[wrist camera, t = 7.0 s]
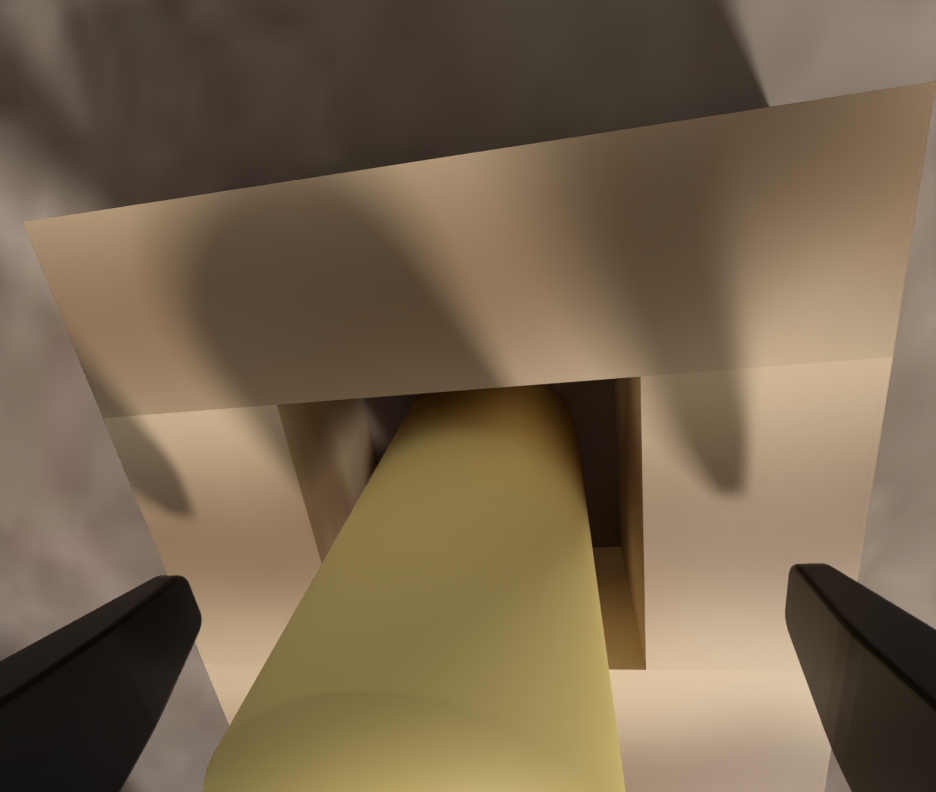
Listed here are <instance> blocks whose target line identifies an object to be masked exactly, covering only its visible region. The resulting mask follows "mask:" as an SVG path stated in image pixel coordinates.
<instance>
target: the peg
mask: <svg viewBox="0 0 936 792" xmlns="http://www.w3.org/2000/svg"><path fill="white" fill-rule="evenodd" d="M204 792H626V791H625V784H624V777H623V769H622V762H621V755H620V747H619V740H618V733H617V725H616V718H615V711H614V703H613V696H612V689H611V681H610V674H609V666H608V659H607V652H606V644H605V637H604V630H603V622H602V615H601V608H600V600H599V593H598V586H597V578H596V571H595V564H594V556H593V549H592V542H591V534H590V527H589V520H588V512H587V505H586V498H585V490H584V483H583V476H582V468H581V461H580V454H579V446H578V439H577V432H576V428H575V425H574V422H573V419H572V417H571V415H570V413H569V411H568V409H567V407H566V406H565V404H564V403H563V401H562V400H561V399H560V398H559V397H558V395H557V394H556V393H555V392H554V391H553V390H552V389H551V388H549V387H548V386H547V385H546V384H538V385H525V386H512V387H499V388H486V389H473V390H460V391H447V392H434V393H421V394H419V395H418V397H417V398H416V400H415V401H414V403H413V404H412V406H411V408H410V409H409V411H408V413H407V415H406V416H405V418H404V420H403V422H402V423H401V425H400V427H399V429H398V431H397V432H396V434H395V436H394V438H393V439H392V441H391V443H390V445H389V446H388V448H387V450H386V452H385V453H384V455H383V457H382V459H381V460H380V462H379V464H378V466H377V467H376V469H375V471H374V473H373V474H372V476H371V478H370V480H369V481H368V483H367V485H366V487H365V488H364V490H363V492H362V494H361V495H360V497H359V499H358V501H357V503H356V504H355V506H354V508H353V510H352V511H351V513H350V515H349V517H348V518H347V520H346V522H345V524H344V525H343V527H342V529H341V531H340V532H339V534H338V536H337V538H336V539H335V541H334V543H333V545H332V546H331V548H330V550H329V552H328V553H327V555H326V557H325V559H324V560H323V562H322V564H321V566H320V567H319V569H318V571H317V573H316V575H315V576H314V578H313V580H312V582H311V583H310V585H309V587H308V589H307V590H306V592H305V594H304V596H303V597H302V599H301V601H300V603H299V604H298V606H297V608H296V610H295V611H294V613H293V615H292V617H291V618H290V620H289V622H288V624H287V625H286V627H285V629H284V631H283V632H282V634H281V636H280V638H279V640H278V641H277V643H276V645H275V647H274V648H273V650H272V652H271V654H270V655H269V657H268V659H267V661H266V662H265V664H264V666H263V668H262V669H261V671H260V673H259V675H258V676H257V678H256V680H255V682H254V683H253V685H252V687H251V689H250V690H249V692H248V694H247V696H246V697H245V699H244V701H243V703H242V704H241V706H240V708H239V710H238V712H237V713H236V715H235V717H234V719H233V720H232V722H231V724H230V726H229V727H228V729H227V731H226V733H225V734H224V736H223V738H222V740H221V741H220V743H219V745H218V747H217V748H216V750H215V752H214V754H213V756H212V758H211V761H210V763H209V765H208V767H207V771H206V776H205V781H204Z"/></svg>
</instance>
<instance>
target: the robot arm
mask: <svg viewBox="0 0 936 792" xmlns="http://www.w3.org/2000/svg"><path fill="white" fill-rule="evenodd" d="M785 621H786V626H787V630H788V633H789V635H790V638H791V641H792V644H793V646H794V649H795V652H796V654H797V657H798V660H799V663H800V665H801V668H802V671H803V674H804V676H805V679H806V682H807V684H808V687H809V690H810V693H811V695H812V698H813V701H814V703H815V706H816V709H817V712H818V714H819V717H820V720H821V723H822V725H823V728H824V731H825V733H826V736H827V738H828V741H829V743H830V746H831V749H832V751H833V753H834V755H835V757H836V760H837V762H838V764H839V766H840V768H841V771H842V773H843V775H844V777H845V779H846V781H847V783H848V785H849V787H850V789H851V791H852V792H936V629H934V628H932V627H931V626H929V625H927V624H926V623H924V622H922V621H921V620H919V619H917V618H916V617H914V616H913V615H911V614H909V613H908V612H906V611H904V610H903V609H901V608H899V607H898V606H896V605H894V604H893V603H891V602H890V601H888V600H886V599H885V598H883V597H881V596H880V595H878V594H876V593H875V592H873V591H871V590H870V589H868V588H866V587H865V586H863V585H862V584H860V583H858V582H857V581H855V580H853V579H852V578H850V577H848V576H847V575H845V574H843V573H842V572H840V571H839V570H837V569H835V568H834V567H832V566H830V565H828V564H824V563H801V564H795V565H793V566H792V567H791V568H790V571H789V575H788V585H787V595H786V605H785ZM201 624H202V616H201V612H200V609H199V607H198V604H197V602H196V599H195V597H194V594H193V591H192V589H191V586H190V584H189V582H188V580H187V579H186V578H185V577H184V576H181V575H163V576H157V577H155V578H153V579H151V580H149V581H147V582H145V583H143V584H142V585H140V586H138V587H136V588H134V589H132V590H130V591H129V592H127V593H125V594H123V595H121V596H119V597H118V598H116V599H114V600H112V601H110V602H108V603H107V604H105V605H103V606H101V607H99V608H97V609H96V610H94V611H92V612H90V613H88V614H86V615H84V616H83V617H81V618H79V619H77V620H75V621H73V622H72V623H70V624H68V625H66V626H64V627H62V628H61V629H59V630H57V631H55V632H53V633H51V634H49V635H48V636H46V637H44V638H42V639H40V640H38V641H37V642H35V643H33V644H31V645H29V646H27V647H26V648H24V649H22V650H20V651H18V652H16V653H14V654H13V655H11V656H9V657H7V658H5V659H3V660H2V661H0V792H120V791H121V789H122V787H123V786H124V784H125V782H126V780H127V778H128V777H129V775H130V773H131V771H132V769H133V768H134V766H135V764H136V762H137V760H138V759H139V757H140V755H141V753H142V751H143V750H144V748H145V746H146V744H147V742H148V741H149V739H150V737H151V735H152V733H153V731H154V729H155V727H156V725H157V723H158V721H159V719H160V717H161V715H162V713H163V711H164V709H165V706H166V704H167V702H168V700H169V698H170V695H171V693H172V691H173V689H174V687H175V684H176V682H177V680H178V678H179V676H180V673H181V671H182V669H183V667H184V665H185V662H186V660H187V658H188V656H189V654H190V651H191V649H192V647H193V645H194V643H195V640H196V638H197V636H198V634H199V631H200V628H201Z"/></svg>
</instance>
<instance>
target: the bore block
mask: <svg viewBox="0 0 936 792" xmlns="http://www.w3.org/2000/svg"><path fill="white" fill-rule="evenodd" d="M935 86H936V81H935V82H928V83H922V84H915V85H909V86H902V87H896V88H889V89H883V90H876V91H870V92H863V93H857V94H851V95H844V96H838V97H831V98H825V99H818V100H812V101H805V102H799V103H792V104H786V105H779V106H773V107H766V108H760V109H753V110H747V111H740V112H734V113H727V114H721V115H714V116H708V117H701V118H695V119H689V120H682V121H676V122H669V123H663V124H656V125H650V126H643V127H637V128H630V129H624V130H617V131H611V132H604V133H598V134H591V135H585V136H578V137H572V138H565V139H559V140H552V141H546V142H540V143H533V144H527V145H520V146H514V147H507V148H501V149H494V150H488V151H481V152H475V153H468V154H462V155H455V156H449V157H442V158H436V159H429V160H423V161H416V162H410V163H403V164H397V165H390V166H384V167H378V168H371V169H365V170H358V171H352V172H345V173H339V174H332V175H326V176H319V177H313V178H306V179H300V180H293V181H287V182H280V183H274V184H267V185H261V186H254V187H248V188H241V189H235V190H229V191H222V192H216V193H209V194H203V195H196V196H190V197H183V198H177V199H170V200H164V201H157V202H151V203H144V204H138V205H131V206H125V207H118V208H112V209H105V210H99V211H92V212H86V213H79V214H73V215H67V216H60V217H54V218H47V219H41V220H34V221H28V222H23V224H24V227H25V229H26V232H27V234H28V237H29V239H30V241H31V244H32V246H33V249H34V251H35V254H36V256H37V258H38V261H39V263H40V266H41V268H42V271H43V273H44V275H45V278H46V280H47V283H48V285H49V288H50V290H51V292H52V295H53V297H54V300H55V302H56V305H57V307H58V310H59V312H60V314H61V317H62V319H63V322H64V324H65V327H66V329H67V331H68V334H69V336H70V339H71V341H72V344H73V346H74V348H75V351H76V353H77V356H78V358H79V361H80V363H81V365H82V368H83V370H84V373H85V375H86V378H87V380H88V383H89V385H90V387H91V390H92V392H93V395H94V397H95V400H96V402H97V404H98V407H99V409H100V412H101V414H102V417H103V419H104V421H105V424H106V426H107V429H108V431H109V434H110V436H111V438H112V441H113V443H114V446H115V448H116V451H117V453H118V455H119V458H120V460H121V463H122V465H123V468H124V470H125V473H126V475H127V477H128V480H129V482H130V485H131V487H132V490H133V492H134V494H135V497H136V499H137V502H138V504H139V507H140V509H141V511H142V514H143V516H144V519H145V521H146V524H147V526H148V528H149V531H150V533H151V536H152V538H153V541H154V543H155V545H156V548H157V550H158V553H159V555H160V558H161V560H162V563H163V565H164V567H165V570H166V572H167V575H181V576H184V577H185V578H186V579H187V580H188V582H189V584H190V586H191V589H192V591H193V594H194V597H195V599H196V602H197V604H198V607H199V609H200V612H201V616H202V624H201V628H200V631H199V634H198V636H197V638H196V640H195V643H196V645H197V648H198V650H199V653H200V655H201V657H202V660H203V662H204V665H205V667H206V670H207V672H208V674H209V677H210V679H211V682H212V684H213V687H214V689H215V691H216V694H217V696H218V699H219V701H220V704H221V706H222V708H223V711H224V713H225V716H226V718H227V721H228V723H229V725H230V724H231V722H232V720H233V719H234V717H235V715H236V713H237V712H238V710H239V708H240V706H241V704H242V703H243V701H244V699H245V697H246V696H247V694H248V692H249V690H250V689H251V687H252V685H253V683H254V682H255V680H256V678H257V676H258V675H259V673H260V671H261V669H262V668H263V666H264V664H265V662H266V661H267V659H268V657H269V655H270V654H271V652H272V650H273V648H274V647H275V645H276V643H277V641H278V640H279V638H280V636H281V634H282V632H283V631H284V629H285V627H286V625H287V624H288V622H289V620H290V618H291V617H292V615H293V613H294V611H295V610H296V608H297V606H298V604H299V603H300V601H301V599H302V597H303V596H304V594H305V592H306V590H307V589H308V587H309V585H310V583H311V582H312V580H313V578H314V576H315V575H316V573H317V571H318V569H319V567H320V566H321V564H322V562H323V560H324V559H325V557H326V555H327V553H328V552H329V550H330V548H331V546H332V545H333V543H334V541H335V539H336V538H337V536H338V534H339V532H340V531H341V529H342V527H343V525H344V524H345V522H346V520H347V518H348V517H349V515H350V513H351V511H352V510H353V508H354V506H355V504H356V503H357V501H358V499H359V497H360V495H361V494H362V492H363V490H364V488H365V487H366V485H367V483H368V481H369V480H370V478H371V476H372V474H373V473H374V471H375V469H376V467H377V466H378V464H379V462H380V460H381V459H382V457H383V455H384V453H385V452H386V450H387V448H388V446H389V445H390V443H391V441H392V439H393V438H394V436H395V434H396V432H397V431H398V429H399V427H400V425H401V423H402V422H403V420H404V418H405V416H406V415H407V413H408V411H409V409H410V408H411V406H412V404H413V403H414V401H415V400H416V398H417V397H418V395H419V394H421V393H434V392H447V391H460V390H473V389H486V388H499V387H512V386H525V385H538V384H546V385H547V386H548V387H549V388H551V389H552V390H553V391H554V392H555V393H556V394H557V395H558V397H559V398H560V399H561V400H562V401H563V403H564V404H565V406H566V407H567V409H568V411H569V413H570V415H571V417H572V419H573V422H574V425H575V428H576V432H577V439H578V446H579V454H580V461H581V468H582V476H583V483H584V490H585V498H586V505H587V512H588V520H589V527H590V534H591V542H592V549H593V556H594V564H595V571H596V578H597V586H598V593H599V600H600V608H601V615H602V622H603V630H604V637H605V644H606V652H607V659H608V666H609V674H610V681H611V689H612V696H613V703H614V711H615V718H616V725H617V733H618V740H619V747H620V755H621V762H622V769H623V777H624V784H625V791H626V792H824V791H825V785H826V779H827V772H828V766H829V759H830V753H831V746H830V743H829V741H828V738H827V736H826V733H825V731H824V728H823V725H822V723H821V720H820V717H819V714H818V712H817V709H816V706H815V703H814V701H813V698H812V695H811V693H810V690H809V687H808V684H807V682H806V679H805V676H804V674H803V671H802V668H801V665H800V663H799V660H798V657H797V654H796V652H795V649H794V646H793V644H792V641H791V638H790V635H789V633H788V630H787V626H786V621H785V605H786V595H787V585H788V575H789V571H790V568H791V567H792V566H793V565H795V564H801V563H824V564H828V565H830V566H832V567H834V568H835V569H837V570H839V571H840V572H842V573H843V574H845V575H847V576H848V577H850V578H852V579H853V580H855V581H857V582H858V575H859V569H860V562H861V556H862V550H863V543H864V537H865V531H866V524H867V518H868V512H869V505H870V499H871V493H872V486H873V480H874V473H875V467H876V461H877V454H878V448H879V442H880V435H881V429H882V423H883V416H884V410H885V404H886V397H887V391H888V385H889V378H890V372H891V365H892V359H893V353H894V346H895V340H896V334H897V327H898V321H899V315H900V308H901V302H902V296H903V289H904V283H905V276H906V270H907V264H908V257H909V251H910V245H911V238H912V232H913V226H914V219H915V213H916V207H917V200H918V194H919V187H920V181H921V175H922V168H923V162H924V156H925V149H926V143H927V137H928V130H929V124H930V118H931V111H932V105H933V99H934V92H935Z"/></svg>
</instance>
